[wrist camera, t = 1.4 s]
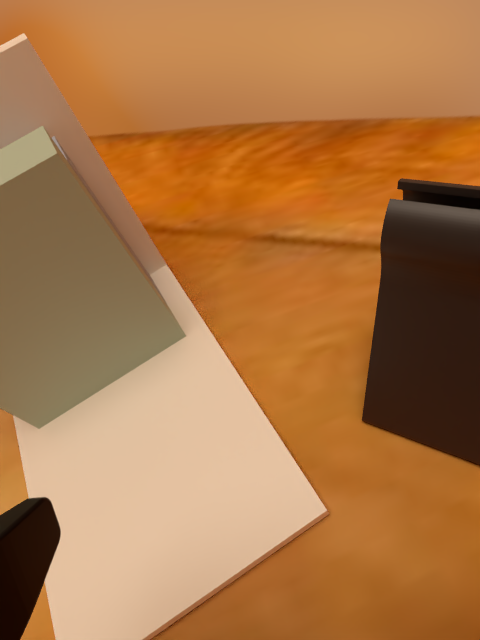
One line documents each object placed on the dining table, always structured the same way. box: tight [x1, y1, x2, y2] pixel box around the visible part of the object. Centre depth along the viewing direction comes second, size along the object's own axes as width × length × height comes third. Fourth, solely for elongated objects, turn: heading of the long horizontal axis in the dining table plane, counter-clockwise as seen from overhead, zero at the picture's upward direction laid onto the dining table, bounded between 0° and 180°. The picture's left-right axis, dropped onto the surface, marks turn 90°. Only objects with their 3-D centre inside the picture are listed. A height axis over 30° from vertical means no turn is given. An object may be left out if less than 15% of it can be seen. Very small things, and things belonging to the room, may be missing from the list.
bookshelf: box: [0, 33, 329, 640], centre depth 20 cm, size 22×14×17 cm, turn 29°
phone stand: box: [362, 179, 480, 465], centre depth 18 cm, size 9×6×12 cm, turn 151°
